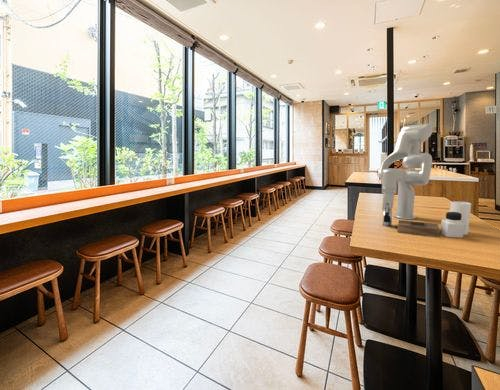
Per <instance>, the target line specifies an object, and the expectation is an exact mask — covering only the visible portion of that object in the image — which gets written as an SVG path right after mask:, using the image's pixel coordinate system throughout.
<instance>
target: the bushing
mask: <svg viewBox="0 0 500 390" xmlns="http://www.w3.org/2000/svg"><path fill="white" fill-rule="evenodd" d="M382 211H383V212H382V213H383V214H382V226H383V227H392V221H393V220H392V219H393V209H392V210H391V211H390V223H388V222H384V214H385V209H384V210H382ZM388 212H389V211H388Z"/></svg>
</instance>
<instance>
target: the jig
mask: <svg viewBox="0 0 500 390" xmlns="http://www.w3.org/2000/svg"><path fill="white" fill-rule="evenodd" d="M397 223H398V224H397V233H400V234H401V233H403V234H411V235H418V236H419V235H420V236H425V237H426V236H430V237H435V238H439V236H440V227H439V224H438V223H432V222H421V221H411V220H405V219H401V220H400V219H399V220H398V222H397Z"/></svg>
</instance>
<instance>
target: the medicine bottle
mask: <svg viewBox="0 0 500 390" xmlns="http://www.w3.org/2000/svg"><path fill="white" fill-rule="evenodd" d="M461 217H462V214H461V213H458V212H450V211H447V212H446V213H445V219H441V222H440V227H439V233H440V234H441V235H443V236H445V237H446V238H456V239H457V238H459V239H461V238H464V235H463V234H464V227H465V224H463V223H461V222H460V221H461Z"/></svg>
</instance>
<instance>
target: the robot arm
mask: <svg viewBox="0 0 500 390" xmlns="http://www.w3.org/2000/svg"><path fill="white" fill-rule="evenodd" d="M432 134H433V126H432V124H430V123H422V124H412V125H411V124H410V125H409V124H408V125H404V126H402V127H401V128H400V131H399V133H398V134H397V137H396V141H395V144H394V148H393V152H392V153H390V154H389V155H388V156H387V157H386V158H385V159H384V160H383V161H382V163H381V165H380V169H379V179H380V180H381V194H382V204H381V205H382V206H381V210H382V211H383V210H385V214H384V222H388V223H390V211H391V210H392V211H393V206H394V199H395V198H394V197H395V195H396V194H397V199H396V213H394V214H393V217H394V218H396V219H399V220H400V219H401V220H416V218H417V216H415V215H414V209H415V208H414V207H415V197H416V196H415V195H416V192H415V189H414V187H413V186H426V185H427V184H428V183H429V182H430V176H431V172H432V171H431V170H432V166H433V157H432V155H431V154H430V153H428V152H420V150H421V145H420V144H421V143H424V142H426V141H427V140H428V139H429V138H430V137H431V135H432ZM400 160H402V162H401V163H402V167H403V168H406V169H403V168H390V166H391V165H392V164H393V163H395V162H398V161H400ZM388 211H389V212H388Z"/></svg>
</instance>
